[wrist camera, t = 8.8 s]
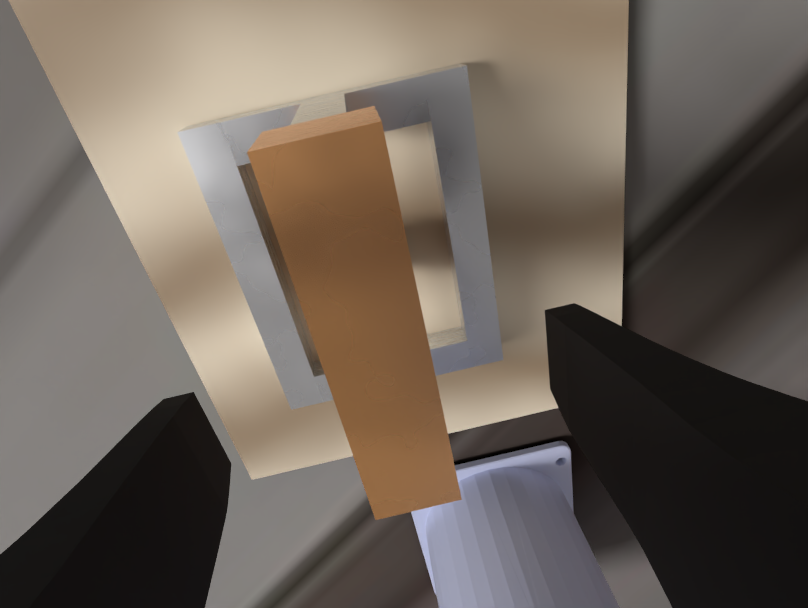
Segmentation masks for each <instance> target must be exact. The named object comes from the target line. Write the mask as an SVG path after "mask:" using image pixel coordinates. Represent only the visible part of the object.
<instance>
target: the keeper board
mask: <svg viewBox="0 0 808 608" xmlns="http://www.w3.org/2000/svg"><path fill="white" fill-rule="evenodd" d="M9 2H10V4H11V6H12V8H13V10H14V12H15V14H16V16H17V18H18V19H19V21H20V23H21V25H22V27H23V29H24V31H25V33H26V35H27V37H28V39H29V41H30V43H31V45H32V47H33V49H34V51H35V53H36V55H37V57H38V59H39V61H40V63H41V65H42V67H43V69H44V71H45V73H46V75H47V77H48V79H49V81H50V83H51V85H52V86H53V88H54V90H55V92H56V94H57V96H58V98H59V100H60V102H61V104H62V106H63V108H64V110H65V112H66V114H67V116H68V118H69V120H70V122H71V124H72V126H73V128H74V130H75V132H76V134H77V136H78V138H79V140H80V142H81V144H82V146H83V148H84V150H85V152H86V153H87V155H88V157H89V159H90V161H91V163H92V165H93V167H94V169H95V171H96V173H97V175H98V177H99V179H100V181H101V183H102V185H103V187H104V189H105V191H106V193H107V195H108V197H109V199H110V201H111V203H112V205H113V207H114V209H115V211H116V213H117V215H118V217H119V219H120V220H121V222H122V224H123V226H124V228H125V230H126V232H127V234H128V236H129V238H130V240H131V242H132V244H133V246H134V248H135V250H136V252H137V254H138V256H139V258H140V260H141V262H142V264H143V266H144V268H145V270H146V272H147V274H148V276H149V278H150V280H151V282H152V284H153V286H154V288H155V289H156V291H157V293H158V295H159V297H160V299H161V301H162V303H163V305H164V307H165V309H166V311H167V313H168V315H169V317H170V319H171V321H172V323H173V325H174V327H175V329H176V331H177V333H178V335H179V337H180V339H181V341H182V343H183V345H184V347H185V349H186V351H187V353H188V355H189V356H190V358H191V360H192V362H193V364H194V366H195V368H196V370H197V372H198V374H199V376H200V378H201V380H202V382H203V384H204V386H205V388H206V390H207V392H208V394H209V396H210V398H211V400H212V402H213V404H214V406H215V408H216V410H217V412H218V414H219V416H220V418H221V420H222V422H223V423H224V425H225V427H226V429H227V431H228V433H229V435H230V437H231V439H232V441H233V443H234V445H235V447H236V449H237V451H238V453H239V455H240V457H241V459H242V461H243V463H244V465H245V467H246V469H247V471H248V473H249V475H250V477H251V479H252V480H253V479H257V478H262V477H266V476H270V475H274V474H279V473H283V472H287V471H291V470H296V469H300V468H304V467H308V466H313V465H317V464H321V463H325V462H330V461H334V460H338V459H342V458H347V457H351V456H353V454H352V451H351V448H350V445H349V442H348V439H347V437H346V434H345V431H344V428H343V425H342V422H341V419H340V417H339V414H338V411H337V408H336V405H335V402H334V400H331V401H326V402H322V403H318V404H314V405H309V406H305V407H301V408H297V409H292V410H291V408H290V406H289V403H288V401H287V398H286V396H285V393H284V391H283V389H282V386H281V384H280V381H279V379H278V376H277V374H276V372H275V369H274V367H273V364H272V362H271V359H270V357H269V354H268V352H267V350H266V347H265V345H264V342H263V340H262V337H261V335H260V333H259V330H258V328H257V325H256V323H255V320H254V318H253V315H252V313H251V311H250V308H249V306H248V303H247V301H246V298H245V296H244V294H243V291H242V289H241V286H240V284H239V281H238V279H237V277H236V274H235V272H234V269H233V267H232V264H231V262H230V259H229V257H228V255H227V252H226V250H225V247H224V245H223V242H222V240H221V238H220V235H219V233H218V230H217V228H216V225H215V223H214V220H213V218H212V216H211V213H210V211H209V208H208V206H207V203H206V201H205V199H204V196H203V194H202V191H201V189H200V186H199V184H198V182H197V179H196V177H195V174H194V172H193V169H192V167H191V164H190V162H189V160H188V157H187V155H186V152H185V150H184V147H183V145H182V143H181V140H180V138H179V135H178V133H177V132H179V131H180V130H182V129H183V128H185V127H186V126H190V125H194V124H198V123H203V122H207V121H211V120H216V119H220V118H224V117H229V116H233V115H237V114H242V113H246V112H250V111H254V110H259V109H263V108H267V107H272V106H276V105H280V104H285V103H289V102H293V101H298V100H302V99H306V98H311V97H315V96H319V95H324V94H328V93H332V92H337V91H341V90H345V89H350V88H354V87H358V86H363V85H367V84H371V83H376V82H380V81H384V80H388V79H393V78H397V77H401V76H406V75H410V74H414V73H419V72H423V71H427V70H432V69H436V68H440V67H445V66H449V65H453V64H458V63H460V64H464V65H467V70H468V78H469V86H470V94H471V102H472V110H473V119H474V127H475V135H476V143H477V151H478V159H479V167H480V175H481V183H482V191H483V199H484V207H485V215H486V223H487V231H488V239H489V248H490V256H491V264H492V272H493V280H494V288H495V296H496V304H497V312H498V320H499V328H500V336H501V344H502V352H503V360H501V361H497V362H492V363H488V364H484V365H480V366H475V367H471V368H467V369H463V370H458V371H454V372H450V373H446V374H441V375H437V376H436V380H437V385H438V390H439V394H440V399H441V404H442V408H443V413H444V418H445V423H446V427H447V432H448V434H449V433H453V432H457V431H461V430H466V429H470V428H474V427H478V426H483V425H487V424H491V423H495V422H500V421H504V420H508V419H512V418H517V417H521V416H525V415H529V414H534V413H538V412H542V411H546V410H551V409H555V408H558V405H557V403H556V401H555V399H554V396H553V394H552V392H551V390H550V381H549V366H548V351H547V337H546V322H545V310H547V309H551V308H556V307H560V306H564V305H568V304H573V303H575V304H578V305H580V306H582V307H584V308H586V309H588V310H590V311H592V312H595V313H597V314H599V315H600V316H602V317H604V318H606V319H608V320H610V321H612V322H614V323H616V324H618V325H620V326H622V291H623V244H624V198H625V151H626V105H627V58H628V12H629V0H9ZM384 134H385V139H386V144H387V149H388V153H389V158H390V163H391V168H392V172H393V177H394V182H395V186H396V191H397V196H398V201H399V205H400V210H401V215H402V219H403V224H404V229H405V234H406V238H407V243H408V248H409V253H410V257H411V262H412V267H413V271H414V276H415V281H416V286H417V290H418V295H419V300H420V305H421V309H422V314H423V319H424V323H425V328H426V333H427V334H431V333H435V332H439V331H443V330H448V329H452V328H456V327H461V322H460V316H459V310H458V304H457V298H456V292H455V287H454V281H453V275H452V269H451V263H450V257H449V251H448V245H447V239H446V233H445V227H444V221H443V216H442V210H441V204H440V198H439V192H438V186H437V180H436V174H435V168H434V162H433V156H432V150H431V145H430V139H429V133H428V127H427V122H425V123H421V124H417V125H412V126H408V127H404V128H399V129H395V130H391V131H386V132H384ZM245 166H246V169H247V172H248V174H249V177H250V180H251V183H252V186H253V188H254V191H255V194H256V197H257V200H258V202H259V205H260V208H261V211H262V214H263V216H264V219H265V222H266V225H267V228H268V230H269V233H270V236H271V239H272V242H273V245H274V247H275V250H276V253H277V256H278V259H279V261H280V264H281V267H282V270H283V273H284V275H285V278H286V281H287V284H288V287H289V289H290V292H291V295H292V298H293V301H294V303H295V306H296V309H297V312H298V315H299V317H300V320H301V323H302V326H303V329H304V331H305V334H306V337H307V340H308V343H309V345H310V348H311V351H312V354H313V357H314V360H315V361H316V360H320V359H319V357H318V354H317V351H316V348H315V345H314V342H313V339H312V337H311V334H310V331H309V328H308V325H307V322H306V319H305V317H304V314H303V311H302V308H301V305H300V302H299V300H298V297H297V294H296V291H295V288H294V285H293V282H292V280H291V277H290V274H289V271H288V268H287V265H286V262H285V260H284V257H283V254H282V251H281V248H280V245H279V242H278V240H277V237H276V234H275V231H274V228H273V225H272V222H271V220H270V217H269V214H268V211H267V208H266V205H265V202H264V200H263V197H262V194H261V191H260V188H259V185H258V182H257V180H256V177H255V174H254V171H253V168H252V165H251V163H248V164H245Z"/></svg>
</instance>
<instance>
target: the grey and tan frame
mask: <svg viewBox="0 0 808 608" xmlns="http://www.w3.org/2000/svg"><path fill="white" fill-rule="evenodd" d="M425 122H427V127H428V133H429V139H430V145H431V150H432V156H433V162H434V168H435V174H436V180H437V186H438V192H439V198H440V204H441V210H442V216H443V221H444V227H445V233H446V239H447V245H448V251H449V257H450V263H451V269H452V275H453V281H454V287H455V292H456V298H457V304H458V310H459V316H460V322H461V327H456V328H452V329H448V330H443V331H439V332H435V333H431V334H427V333H426V328H425V323H424V319H423V314H422V309H421V305H420V300H419V295H418V290H417V286H416V281H415V276H414V271H413V267H412V262H411V257H410V253H409V248H408V243H407V238H406V234H405V229H404V224H403V219H402V215H401V210H400V205H399V201H398V196H397V191H396V186H395V182H394V177H393V172H392V168H391V163H390V158H389V153H388V149H387V144H386V139H385V134H384V132H386V131H391V130H395V129H399V128H404V127H408V126H412V125H417V124H421V123H425ZM177 133H178V135H179V138H180V140H181V143H182V145H183V147H184V150H185V152H186V155H187V157H188V160H189V162H190V164H191V167H192V169H193V172H194V174H195V177H196V179H197V182H198V184H199V186H200V189H201V191H202V194H203V196H204V199H205V201H206V203H207V206H208V208H209V211H210V213H211V216H212V218H213V220H214V223H215V225H216V228H217V230H218V233H219V235H220V238H221V240H222V242H223V245H224V247H225V250H226V252H227V255H228V257H229V259H230V262H231V264H232V267H233V269H234V272H235V274H236V277H237V279H238V281H239V284H240V286H241V289H242V291H243V294H244V296H245V298H246V301H247V303H248V306H249V308H250V311H251V313H252V315H253V318H254V320H255V323H256V325H257V328H258V330H259V333H260V335H261V337H262V340H263V342H264V345H265V347H266V350H267V352H268V354H269V357H270V359H271V362H272V364H273V367H274V369H275V372H276V374H277V376H278V379H279V381H280V384H281V386H282V389H283V391H284V393H285V396H286V398H287V401H288V403H289V406H290V408H291V410H292V409H297V408H301V407H305V406H309V405H314V404H318V403H322V402H326V401H331V400H334V402H335V405H336V408H337V411H338V414H339V417H340V419H341V422H342V425H343V428H344V431H345V434H346V437H347V439H348V442H349V445H350V448H351V451H352V454H353V457H354V459H355V462H356V465H357V468H358V471H359V474H360V477H361V479H362V482H363V485H364V488H365V491H366V494H367V496H368V499H369V502H370V505H371V508H372V511H373V514H374V516H375V519H376V520H378V519H382V518H386V517H390V516H395V515H399V514H403V513H407V512H412V511H416V510H420V509H424V508H429V507H433V506H437V505H441V504H445V503H450V502H454V501H458V500H462V498H461V493H460V489H459V484H458V479H457V475H456V470H455V465H454V460H453V456H452V451H451V446H450V442H449V437H448V432H447V427H446V423H445V418H444V413H443V408H442V404H441V399H440V394H439V390H438V385H437V380H436V376H437V375H441V374H446V373H450V372H454V371H458V370H463V369H467V368H471V367H475V366H480V365H484V364H488V363H492V362H497V361H501V360H503V352H502V344H501V336H500V328H499V320H498V312H497V304H496V296H495V288H494V280H493V272H492V264H491V256H490V248H489V239H488V231H487V223H486V215H485V207H484V199H483V191H482V183H481V175H480V167H479V159H478V151H477V143H476V135H475V127H474V119H473V110H472V102H471V94H470V86H469V78H468V70H467V65H464V64H460V63H458V64H453V65H449V66H445V67H440V68H436V69H432V70H427V71H423V72H419V73H414V74H410V75H406V76H401V77H397V78H393V79H388V80H384V81H380V82H376V83H371V84H367V85H363V86H358V87H354V88H350V89H345V90H341V91H337V92H332V93H328V94H324V95H319V96H315V97H311V98H306V99H302V100H298V101H293V102H289V103H285V104H280V105H276V106H272V107H267V108H263V109H259V110H254V111H250V112H246V113H242V114H237V115H233V116H229V117H224V118H220V119H216V120H211V121H207V122H203V123H198V124H194V125H190V126H186V127H185V128H183V129H182V130H180V131H179V132H177ZM248 163H251V165H252V168H253V171H254V174H255V177H256V180H257V182H258V185H259V188H260V191H261V194H262V197H263V200H264V202H265V205H266V208H267V211H268V214H269V217H270V220H271V222H272V225H273V228H274V231H275V234H276V237H277V240H278V242H279V245H280V248H281V251H282V254H283V257H284V260H285V262H286V265H287V268H288V271H289V274H290V277H291V280H292V282H293V285H294V288H295V291H296V294H297V297H298V300H299V302H300V305H301V308H302V311H303V314H304V317H305V319H306V322H307V325H308V328H309V331H310V334H311V337H312V339H313V342H314V345H315V348H316V351H317V354H318V357H319V359H320V360H316V361H315V360H314V357H313V354H312V351H311V348H310V345H309V343H308V340H307V337H306V334H305V331H304V329H303V326H302V323H301V320H300V317H299V315H298V312H297V309H296V306H295V303H294V301H293V298H292V295H291V292H290V289H289V287H288V284H287V281H286V278H285V275H284V273H283V270H282V267H281V264H280V261H279V259H278V256H277V253H276V250H275V247H274V245H273V242H272V239H271V236H270V233H269V230H268V228H267V225H266V222H265V219H264V216H263V214H262V211H261V208H260V205H259V202H258V200H257V197H256V194H255V191H254V188H253V186H252V183H251V180H250V177H249V174H248V172H247V169H246V166H245V164H248Z"/></svg>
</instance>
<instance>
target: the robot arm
mask: <svg viewBox="0 0 808 608" xmlns="http://www.w3.org/2000/svg"><path fill="white" fill-rule="evenodd" d="M545 322H546V337H547V351H548V366H549V381H550V390H551V392H552V394H553V396H554V399H555V401H556V403H557V405H558V408H559V410H560V412H561V414H562V416H563V418H564V420H565V422H566V425H567V427H568V429H569V431H570V432H571V434H572V436H573V437H574V439H575V441H576V442H577V444H578V445H579V447H580V449H581V450H582V452H583V453H584V455H585V457H586V458H587V460H588V461H589V463H590V465H591V466H592V468H593V469H594V471H595V472H596V474H597V476H598V477H599V479H600V480H601V482H602V483H603V485H604V487H605V488H606V490H607V491H608V493H609V494H610V496H611V498H612V499H613V501H614V502H615V504H616V506H617V507H618V509H619V510H620V512H621V513H622V515H623V517H624V518H625V520H626V521H627V523H628V524H629V526H630V528H631V529H632V531H633V533H634V535H635V536H636V538H637V540H638V542H639V543H640V545H641V547H642V548H643V550H644V552H645V554H646V556H647V558H648V560H649V562H650V564H651V566H652V568H653V570H654V572H655V574H656V576H657V578H658V580H659V582H660V584H661V586H662V588H663V590H664V592H665V594H666V596H667V598H668V599H669V601H670V603H671V606H672V608H808V401H805V400H802V399H799V398H795V397H792V396H789V395H786V394H783V393H781V392H778V391H775V390H772V389H769V388H766V387H763V386H760V385H757V384H754V383H751V382H748V381H746V380H743V379H740V378H738V377H735V376H732V375H730V374H727V373H724V372H722V371H719V370H717V369H715V368H712V367H710V366H707V365H705V364H703V363H700V362H698V361H695V360H693V359H690V358H688V357H686V356H684V355H681V354H679V353H677V352H675V351H672V350H670V349H668V348H666V347H664V346H662V345H659V344H657V343H655V342H653V341H651V340H649V339H647V338H645V337H643V336H641V335H638V334H636V333H634V332H632V331H630V330H628V329H626V328H624V327H622V326H620V325H618V324H616V323H614V322H612V321H610V320H608V319H606V318H604V317H602V316H600V315H599V314H597V313H595V312H592V311H590V310H588V309H586V308H584V307H582V306H580V305H578V304H575V303H573V304H568V305H564V306H560V307H556V308H551V309H547V310H545ZM559 458H560V459H559ZM455 470H456V475H457V479H458V484H459V489H460V493H461V498H462V500H458V501H454V502H450V503H445V504H441V505H437V506H433V507H429V508H424V509H420V510H416V511H412V512H411V513H412V517H413V520H414V523H415V527H416V530H417V534H418V537H419V541H420V544H421V547H422V551H423V554H424V558H425V561H426V565H427V568H428V571H429V575H430V578H431V582H432V585H433V589H434V592H435V594H436V595H437V600H438V605H439V608H620V607H619V605H618V603H617V601H616V599H615V597H614V595H613V593H612V591H611V589H610V587H609V585H608V583H607V581H606V579H605V577H604V574H603V572H602V570H601V568H600V566H599V564H598V562H597V560H596V558H595V556H594V554H593V552H592V550H591V548H590V546H589V544H588V542H587V540H586V538H585V536H584V534H583V532H582V530H581V528H580V525H579V523H578V521H577V519H576V517H575V515H574V510H573V487H572V465H571V450H570V448H569V446H568V444H567V443H566V442H564V441H556V442H552V443H548V444H543V445H539V446H535V447H531V448H526V449H522V450H518V451H514V452H509V453H505V454H501V455H497V456H492V457H488V458H484V459H480V460H475V461H471V462H467V463H463V464H458V465H455ZM230 473H231V462H230V460H229V459H228V457H227V455H226V453H225V451H224V449H223V447H222V445H221V443H220V441H219V440H218V438H217V436H216V434H215V432H214V430H213V428H212V426H211V424H210V422H209V420H208V419H207V417H206V415H205V413H204V411H203V409H202V407H201V405H200V403H199V401H198V400H197V398H196V396H195V394H194V392H192V393H188V394H184V395H179V396H175V397H171V398H166V399H163V400H162V401H161V402H160V403H159V404H158V405H156V406H155V407H154V408H153V409H152V410H151V411H150V412H149V413H148V414H147V415H146V416H145V417H144V418H143V419H142V420H140V421H139V422H138V423H137V424H136V425H135V426H134V427H133V428H132V429H131V430H130V431H129V432H128V433H127V434H126V435H125V436H124V437H123V438H122V440H121V441H120V442H119V443H118V444H117V445H116V446H115V447H114V448H113V449H112V450H111V451H110V452H109V453H108V454H107V455H106V456H105V457H104V458H103V459H102V460H101V461H100V462H99V463H98V464H97V465H96V466H95V467H94V468H93V469H92V470H91V471H90V472H89V473H88V474H87V475H86V476H85V477H84V478H83V479H82V480H81V481H80V482H79V483H78V484H77V485H75V486H74V487H73V488H72V489H71V490H70V491H69V492H68V493H67V494H66V495H65V496H64V497H63V498H62V499H61V500H60V501H59V502H57V503H56V504H55V505H54V506H53V507H52V508H51V509H50V510H49V511H48V512H47V513H46V514H45V515H44V516H43V517H42V518H41V519H39V520H38V521H37V522H36V523H35V524H34V525H33V526H32V527H31V528H30V529H29V530H28V531H27V532H26V533H24V534H23V535H22V536H21V537H20V538H19V539H18V540H17V541H15V542H14V543H13V544H12V545H11V546H10V547H9V548H7V549H6V550H5V551H4V552H3V553H2V554H0V608H205V604H206V600H207V596H208V591H209V587H210V583H211V579H212V574H213V570H214V566H215V562H216V558H217V553H218V549H219V545H220V540H221V536H222V531H223V527H224V522H225V518H226V513H227V506H228V497H229V486H230Z"/></svg>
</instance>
